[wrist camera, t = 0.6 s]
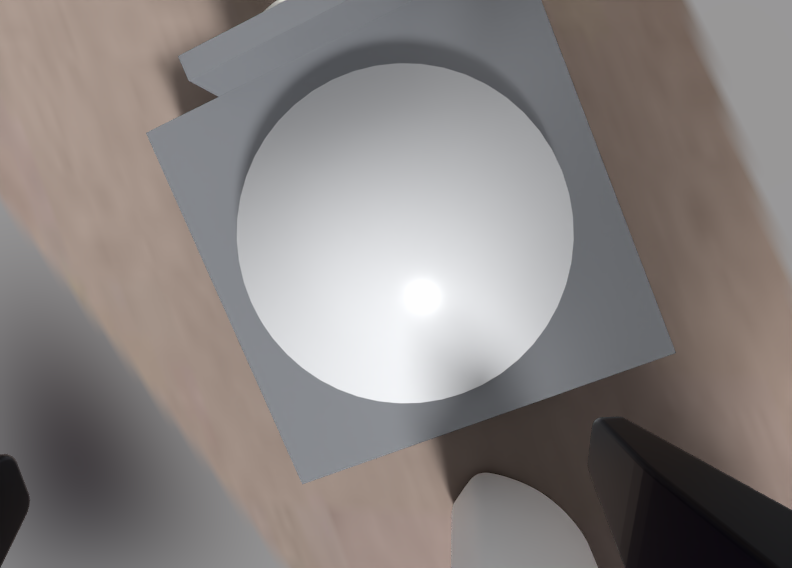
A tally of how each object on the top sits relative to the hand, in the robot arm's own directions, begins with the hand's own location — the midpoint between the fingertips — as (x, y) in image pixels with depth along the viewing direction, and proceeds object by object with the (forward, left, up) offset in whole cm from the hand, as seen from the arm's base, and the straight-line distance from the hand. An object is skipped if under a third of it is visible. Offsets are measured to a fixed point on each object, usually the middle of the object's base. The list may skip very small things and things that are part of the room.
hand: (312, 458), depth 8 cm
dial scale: (+1, -3, -13) cm, 13 cm away
